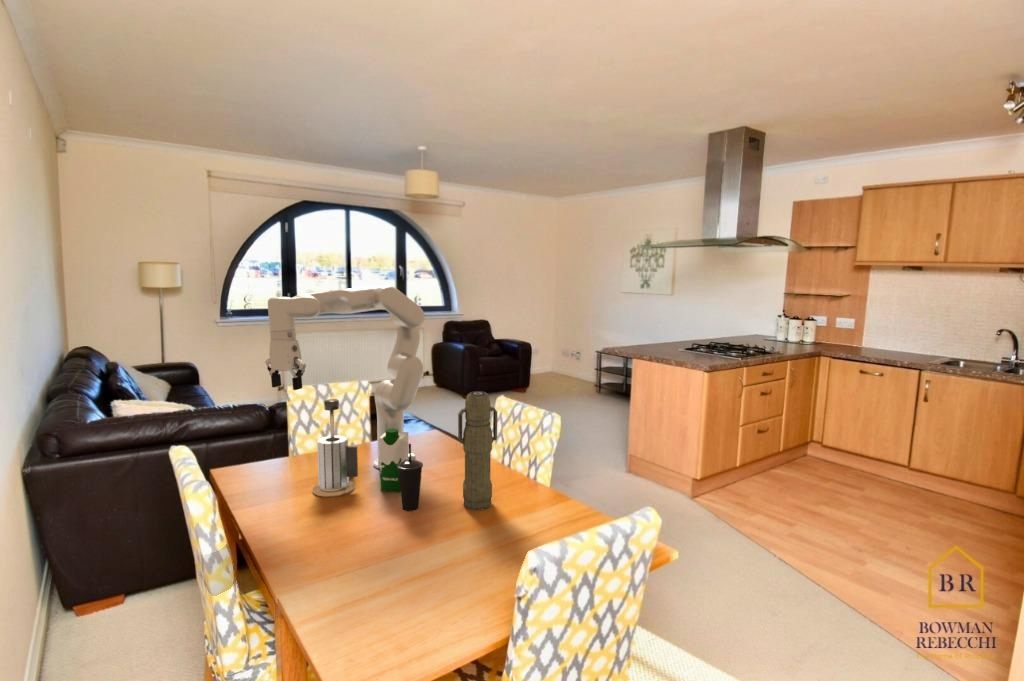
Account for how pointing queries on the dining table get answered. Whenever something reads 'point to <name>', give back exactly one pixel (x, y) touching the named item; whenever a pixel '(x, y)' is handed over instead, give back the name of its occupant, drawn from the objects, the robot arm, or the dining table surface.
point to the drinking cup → (410, 482)
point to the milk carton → (392, 458)
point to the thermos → (477, 449)
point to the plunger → (331, 413)
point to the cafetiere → (335, 466)
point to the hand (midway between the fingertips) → (287, 387)
